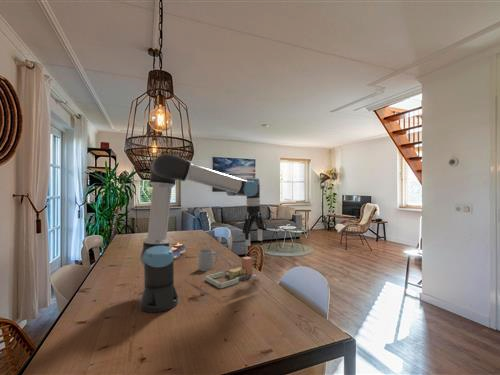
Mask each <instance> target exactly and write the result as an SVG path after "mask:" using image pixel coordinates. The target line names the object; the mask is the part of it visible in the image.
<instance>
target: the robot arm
mask: <svg viewBox="0 0 500 375" xmlns="http://www.w3.org/2000/svg"><path fill="white" fill-rule="evenodd" d="M149 172H150V175H149V184H150V185H151V186H152V189H151V190H152V191H151V192H152V193H151V199H150V210H149V220H148V229H147V237H146V238H145V239H144V240H143V243H142V251H141V253H140V262H141V263H142V267H143V272H144V276H143V277H144V279H143V280H144V289H143V292H142V294H141V297H140V301H139V309H140V310H141V311H142V310H143V311H142V312H144V311H145V313H149V312H150V313H152V314H153V313H162V312H166V311H168V310H171V309H173V308H174V307H176V306H177V305H178V304H179V295H178V292H177V290H176V287H175V284H174V283H175V280H174V276H175V275H174V273H175V272H174V262H175V261H174V258H175V256H174V255H175V254H174V250H173V248H172V247H170V240H169V239H168V238H167V237H168V229H169V227H168V226H169V218H170V209H171V208H170V207H171V198H172V189H173V188H174V187H175V186H176V180H178V181H182V182H186V181H190V182H194V183H198V184H202V185H205V186H208V187H209V186H210V187H212V188H216V189H220V190H224V191H225V192H226V195H227V196H229V197H231V196H232V197H235V196H237V197H238V196H239V197H241V196H242V197H246V205H247V206H246V212H247V213H248V214H246V215H245V216H244V217H245V218H244V223H243V228H242V233H243V234H244V239H245V242H244V245H245V246H248V247H251V229H252V226H253V224H254V223H255V225H256V226H257V241H260V242H263V230H264V229H265V224H264V221H263V216H262V213H261V206H260V205H261V196H260V194H261V193H260V191H261V189H260V188H261V185H260V184H261V183H260V179H259V178H258V177H248V178H246V179H244V178H243V179H242V178H240V177H236V176H233V175H229V174H227V173H224V172H220V171H217V170H213V169H211V168H208V167H204V166H200V165H198V164H193V163H192V161H191V160H188V159H186V158H183V157H181V156H179V155H178V156H177V155H174V154H171V153H161V154H159V155H158V156H157V157H155V158H154V159H153V160H152V161H151V163H150V166H149Z"/></svg>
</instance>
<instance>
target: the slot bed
mask: <svg viewBox="0 0 500 375" xmlns="http://www.w3.org/2000/svg"><path fill="white" fill-rule="evenodd" d="M257 276H258V275H257V274H254V273H252V275H248V274H243V275H240V276H236V277H233V279H237V278H239V282H240V281H243V280H247V279H250V278H254V277H257ZM224 277H225V278H227V279H229V280H232V279H230V278H229V272H226V273H225V274H224Z"/></svg>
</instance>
